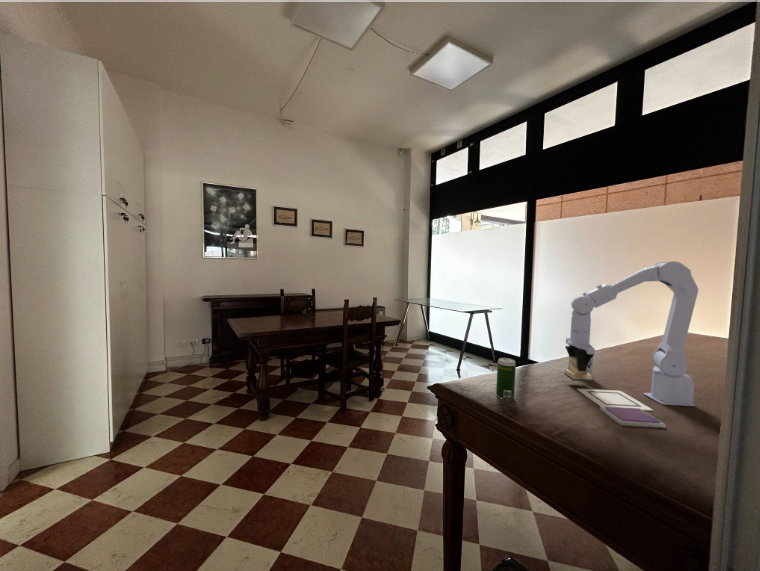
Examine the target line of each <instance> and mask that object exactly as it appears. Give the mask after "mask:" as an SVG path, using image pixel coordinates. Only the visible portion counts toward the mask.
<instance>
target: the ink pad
mask: <svg viewBox="0 0 760 571" xmlns="http://www.w3.org/2000/svg"><path fill="white" fill-rule="evenodd" d="M599 410H600V411H601V412H602V413H603V414H605V415H607V417H609V418H610V419H611V420H613V421H614V422H616V423H617V424H618V425H620V426H624V427H643V428H644V427H645V428H662V429H665V428H666V424H665V423H664V422H663V421H661V420H659V419H658V418H657V417H655V416H653V415H652V414H650V413H648V412H647V411H643V410H641V409H640V408H622V407H603V406H599Z"/></svg>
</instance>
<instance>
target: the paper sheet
mask: <svg viewBox="0 0 760 571" xmlns="http://www.w3.org/2000/svg"><path fill="white" fill-rule="evenodd" d="M576 389H577V391H579V392H580V393H581V394H583V395H584V396H586V398H588V399H589V400H591V401H592V402H594V403H595V404H596V405H598V406H599V407H600V406H603V407H622V408H640V409H641V410H643V411H645V412H653V411H654V409H652V408H651V407H649V406H647V405H646V404H644V403H642V402H640V401H639V400H637V399H635V398H634V397H632V396H631V395H628V394H627V393H625V392H624V391H622V390H616V389H615V390H611V389H610V390H609V389H591V388H576Z"/></svg>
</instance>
